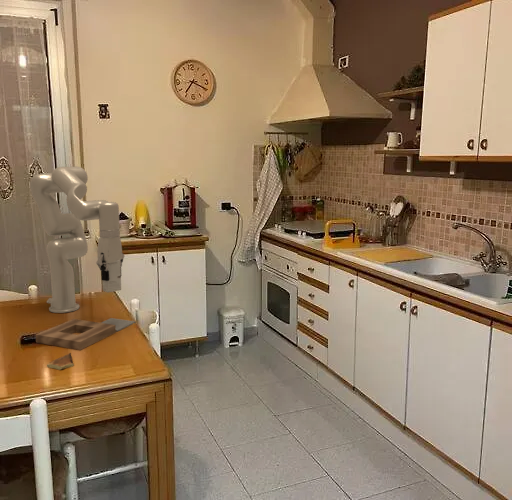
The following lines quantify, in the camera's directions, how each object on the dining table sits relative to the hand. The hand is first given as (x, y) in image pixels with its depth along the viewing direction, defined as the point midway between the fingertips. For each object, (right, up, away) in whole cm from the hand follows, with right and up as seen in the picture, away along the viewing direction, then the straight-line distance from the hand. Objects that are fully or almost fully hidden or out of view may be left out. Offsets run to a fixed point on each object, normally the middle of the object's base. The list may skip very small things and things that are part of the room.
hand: (111, 278), depth 205 cm
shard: (-7, -27, -35) cm, 45 cm away
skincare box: (0, -5, +1) cm, 5 cm away
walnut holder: (-10, -22, -11) cm, 26 cm away
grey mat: (0, -19, +3) cm, 19 cm away
